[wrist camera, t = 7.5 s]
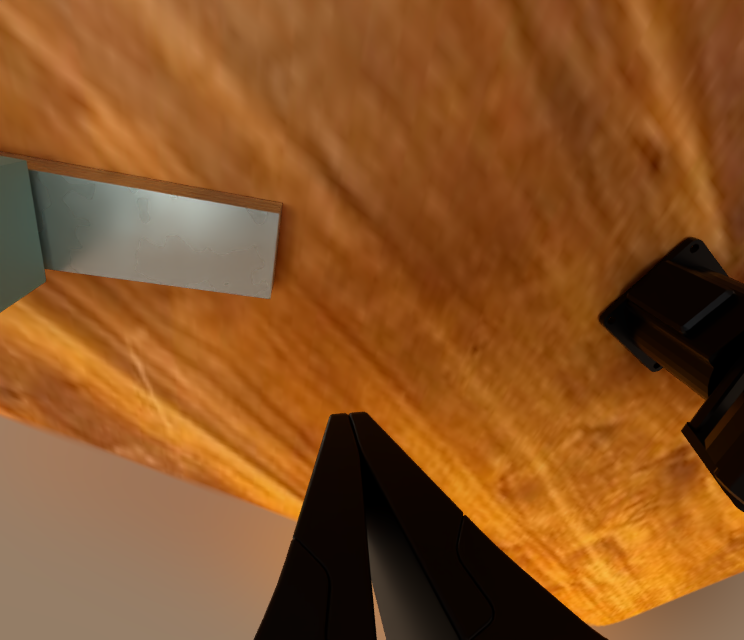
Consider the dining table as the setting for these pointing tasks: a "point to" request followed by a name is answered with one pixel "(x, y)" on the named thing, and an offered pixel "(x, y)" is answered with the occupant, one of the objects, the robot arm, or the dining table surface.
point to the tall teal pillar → (18, 234)
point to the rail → (153, 229)
